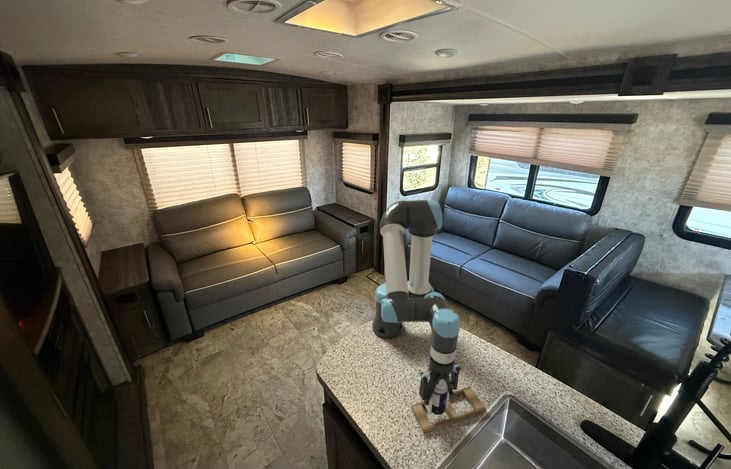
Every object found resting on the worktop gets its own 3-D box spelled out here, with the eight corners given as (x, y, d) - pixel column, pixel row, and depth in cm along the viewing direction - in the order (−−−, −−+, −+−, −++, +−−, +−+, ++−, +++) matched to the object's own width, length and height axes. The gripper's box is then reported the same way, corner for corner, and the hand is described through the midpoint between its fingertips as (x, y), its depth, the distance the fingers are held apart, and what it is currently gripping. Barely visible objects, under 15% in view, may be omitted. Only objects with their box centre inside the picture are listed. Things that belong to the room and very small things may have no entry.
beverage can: (445, 418, 94) (448, 392, 89) (428, 415, 95) (430, 389, 90) (444, 402, 99) (447, 377, 94) (427, 399, 100) (430, 375, 95)
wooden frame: (411, 408, 101) (411, 405, 100) (469, 390, 107) (469, 386, 106) (423, 434, 93) (423, 430, 92) (485, 412, 99) (486, 408, 98)
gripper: (420, 373, 82) (416, 425, 91) (475, 357, 87) (466, 408, 96) (409, 353, 89) (406, 404, 98) (461, 340, 93) (453, 389, 103)
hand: (436, 406), depth 97 cm, fingers closed on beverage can, 6 cm apart
